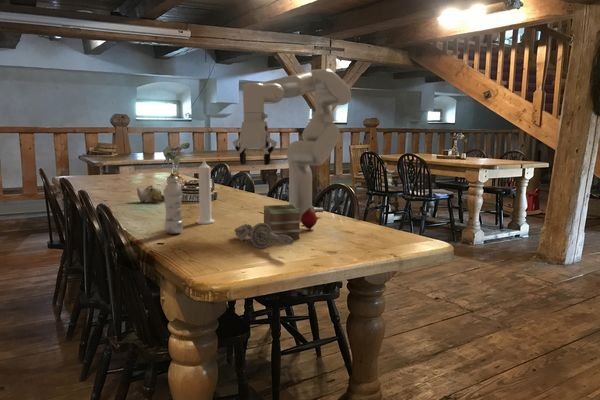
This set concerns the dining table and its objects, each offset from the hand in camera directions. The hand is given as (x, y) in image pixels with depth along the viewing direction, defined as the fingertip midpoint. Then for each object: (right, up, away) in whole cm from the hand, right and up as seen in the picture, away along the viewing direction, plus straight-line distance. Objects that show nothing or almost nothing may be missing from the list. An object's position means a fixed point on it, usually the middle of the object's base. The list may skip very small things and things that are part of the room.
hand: (255, 164), depth 185 cm
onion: (+20, -24, -1) cm, 31 cm away
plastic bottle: (-28, -25, -9) cm, 39 cm away
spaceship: (+5, -28, -28) cm, 40 cm away
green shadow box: (+10, -26, -13) cm, 31 cm away
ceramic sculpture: (-56, -15, +60) cm, 83 cm away
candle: (-20, -22, +11) cm, 32 cm away
